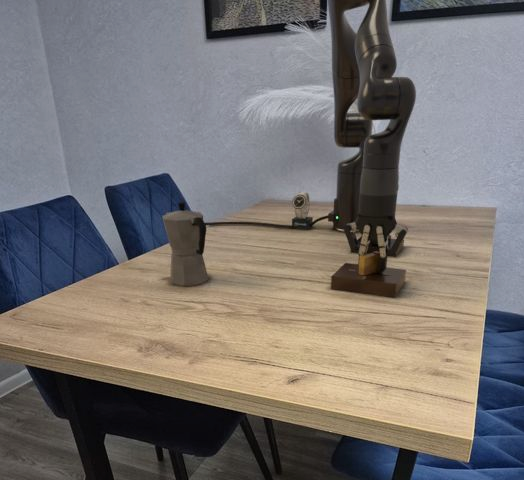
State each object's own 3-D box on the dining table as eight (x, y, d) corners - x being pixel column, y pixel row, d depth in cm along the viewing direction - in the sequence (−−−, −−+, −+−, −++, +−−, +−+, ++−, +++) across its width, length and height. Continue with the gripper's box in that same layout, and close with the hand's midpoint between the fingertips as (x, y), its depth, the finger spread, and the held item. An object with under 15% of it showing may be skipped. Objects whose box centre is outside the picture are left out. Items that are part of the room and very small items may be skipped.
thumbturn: (363, 275, 102) (364, 256, 100) (358, 273, 103) (359, 254, 101) (380, 271, 104) (381, 252, 102) (374, 269, 105) (376, 250, 103)
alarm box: (350, 252, 127) (351, 238, 125) (360, 243, 135) (361, 229, 133) (395, 257, 123) (397, 242, 121) (403, 247, 130) (405, 233, 129)
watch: (289, 230, 152) (289, 194, 147) (298, 224, 158) (298, 190, 153) (306, 231, 150) (306, 195, 145) (314, 225, 156) (315, 191, 151)
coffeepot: (158, 277, 114) (147, 201, 106) (191, 269, 119) (184, 195, 111) (192, 294, 103) (183, 210, 95) (227, 284, 108) (221, 204, 100)
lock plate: (330, 288, 104) (331, 275, 102) (344, 275, 112) (345, 262, 110) (394, 297, 98) (396, 283, 97) (404, 282, 106) (406, 268, 104)
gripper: (339, 192, 96) (335, 273, 104) (410, 196, 90) (400, 281, 98) (350, 185, 101) (346, 263, 110) (417, 189, 96) (407, 270, 104)
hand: (371, 271), depth 104 cm, fingers closed on thumbturn, 3 cm apart
